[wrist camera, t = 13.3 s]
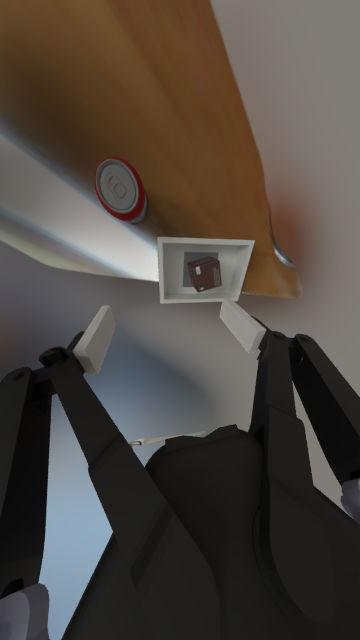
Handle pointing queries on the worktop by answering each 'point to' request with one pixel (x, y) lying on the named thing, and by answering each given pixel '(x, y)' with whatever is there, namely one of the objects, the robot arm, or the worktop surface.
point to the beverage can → (121, 190)
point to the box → (205, 273)
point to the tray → (185, 250)
